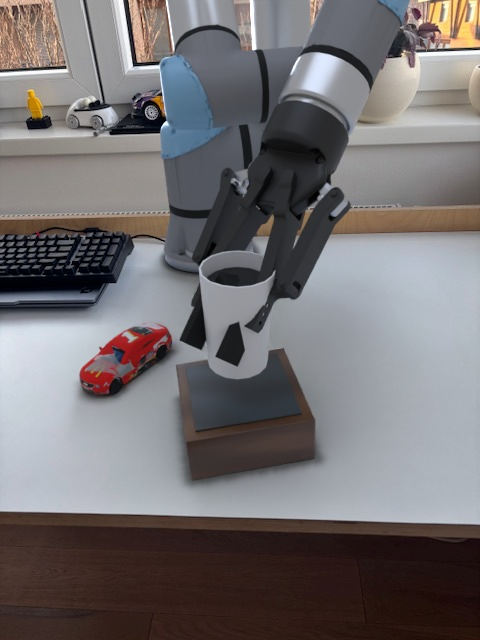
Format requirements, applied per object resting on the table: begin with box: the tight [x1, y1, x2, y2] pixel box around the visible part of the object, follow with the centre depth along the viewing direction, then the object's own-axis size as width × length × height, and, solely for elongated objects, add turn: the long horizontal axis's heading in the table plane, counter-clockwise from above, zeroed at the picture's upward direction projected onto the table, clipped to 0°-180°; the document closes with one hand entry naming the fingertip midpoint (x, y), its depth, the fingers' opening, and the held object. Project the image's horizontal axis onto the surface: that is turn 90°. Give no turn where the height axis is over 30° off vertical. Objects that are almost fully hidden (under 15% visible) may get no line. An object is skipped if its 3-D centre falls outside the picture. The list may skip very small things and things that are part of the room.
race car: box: [78, 321, 173, 395], centre depth 66 cm, size 13×5×4 cm, turn 143°
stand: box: [175, 347, 316, 481], centre depth 55 cm, size 12×12×5 cm
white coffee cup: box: [198, 251, 276, 379], centre depth 49 cm, size 7×7×10 cm
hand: (208, 353), depth 48 cm, fingers closed on white coffee cup, 4 cm apart
